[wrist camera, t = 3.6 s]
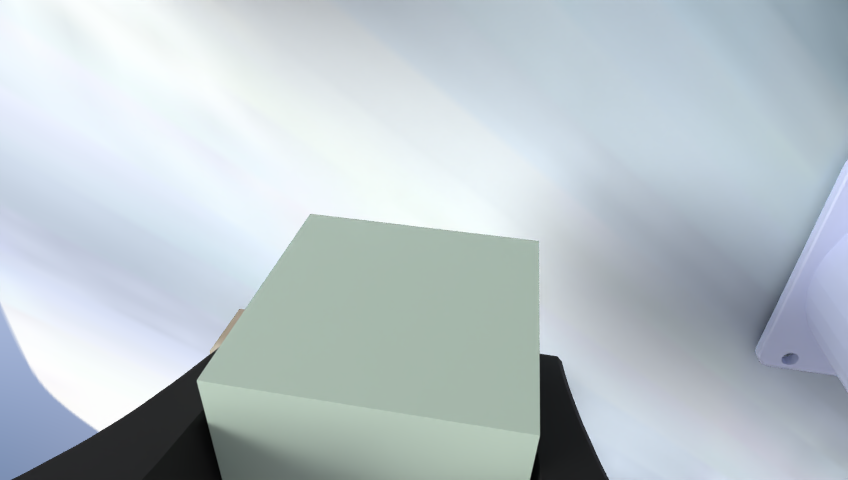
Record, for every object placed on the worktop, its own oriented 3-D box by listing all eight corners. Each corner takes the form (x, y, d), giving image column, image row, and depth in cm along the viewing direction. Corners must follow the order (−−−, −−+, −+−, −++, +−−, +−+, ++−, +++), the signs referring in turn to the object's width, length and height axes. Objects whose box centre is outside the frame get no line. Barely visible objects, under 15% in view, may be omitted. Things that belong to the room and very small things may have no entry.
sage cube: (538, 240, 12) (539, 435, 8) (510, 403, 15) (499, 612, 10) (310, 213, 12) (196, 380, 8) (324, 374, 15) (243, 560, 11)
